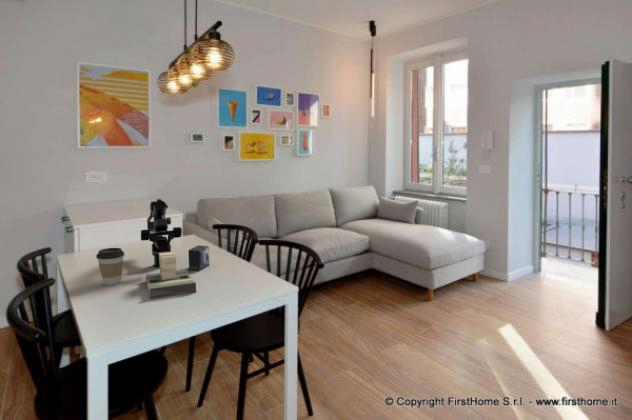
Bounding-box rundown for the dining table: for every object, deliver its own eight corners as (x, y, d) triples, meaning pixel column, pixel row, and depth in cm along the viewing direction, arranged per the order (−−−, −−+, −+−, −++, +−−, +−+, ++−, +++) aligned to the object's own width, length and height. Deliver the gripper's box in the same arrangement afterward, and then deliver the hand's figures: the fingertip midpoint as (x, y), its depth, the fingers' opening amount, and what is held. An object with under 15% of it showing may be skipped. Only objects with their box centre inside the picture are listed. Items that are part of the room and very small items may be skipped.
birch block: (160, 274, 184) (158, 253, 182) (173, 272, 186) (172, 251, 185) (162, 280, 176) (160, 257, 174) (176, 278, 178) (175, 256, 177)
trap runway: (145, 281, 184) (145, 272, 183) (186, 275, 191) (186, 267, 191) (150, 298, 161) (149, 289, 161) (196, 292, 169) (195, 282, 169)
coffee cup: (132, 280, 185) (130, 248, 183) (112, 288, 174) (109, 254, 172) (112, 277, 188) (110, 246, 186) (92, 285, 178) (89, 252, 176)
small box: (200, 271, 199) (199, 250, 198) (188, 270, 200) (187, 249, 199) (210, 265, 209) (209, 245, 208) (198, 264, 211) (197, 245, 209)
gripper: (139, 213, 192) (142, 240, 183) (180, 210, 200) (185, 236, 192) (139, 226, 200) (142, 253, 191) (179, 224, 208) (183, 249, 200)
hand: (163, 248), depth 193 cm, fingers open, 4 cm apart
